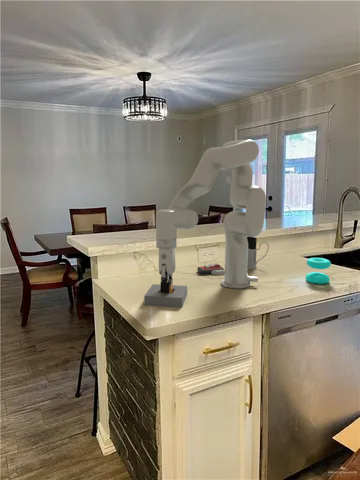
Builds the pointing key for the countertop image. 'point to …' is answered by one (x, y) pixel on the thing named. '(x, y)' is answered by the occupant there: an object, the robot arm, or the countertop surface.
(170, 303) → the socket plate
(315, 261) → the donuts
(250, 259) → the grey and black mug
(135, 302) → the countertop surface
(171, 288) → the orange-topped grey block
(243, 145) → the robot arm
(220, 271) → the walkie-talkie
